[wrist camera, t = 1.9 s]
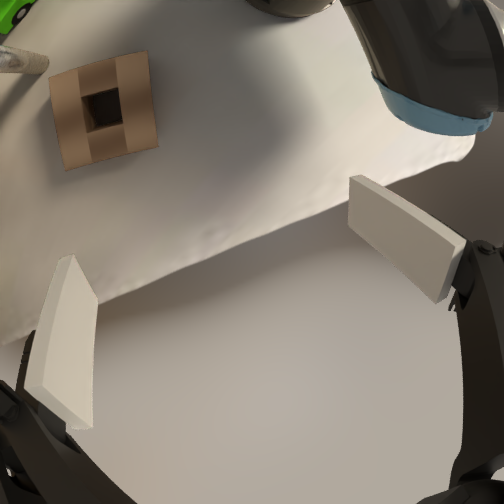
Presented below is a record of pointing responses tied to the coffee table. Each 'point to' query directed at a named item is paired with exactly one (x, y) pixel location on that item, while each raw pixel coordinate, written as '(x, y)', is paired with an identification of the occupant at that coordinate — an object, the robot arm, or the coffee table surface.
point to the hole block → (83, 116)
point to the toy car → (12, 13)
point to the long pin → (22, 61)
